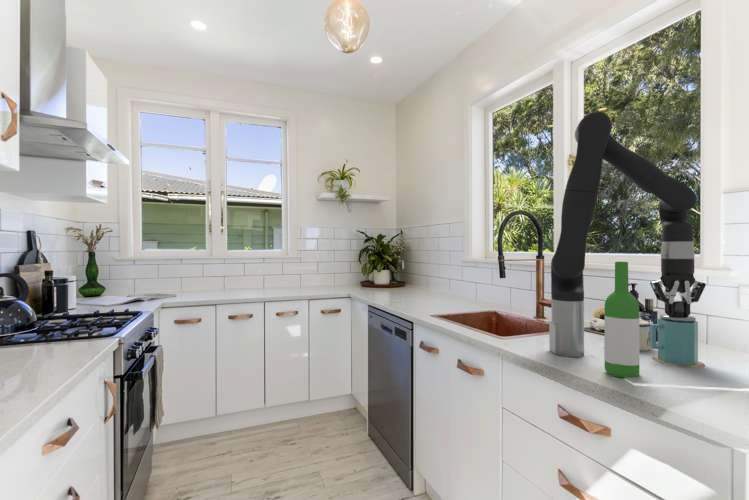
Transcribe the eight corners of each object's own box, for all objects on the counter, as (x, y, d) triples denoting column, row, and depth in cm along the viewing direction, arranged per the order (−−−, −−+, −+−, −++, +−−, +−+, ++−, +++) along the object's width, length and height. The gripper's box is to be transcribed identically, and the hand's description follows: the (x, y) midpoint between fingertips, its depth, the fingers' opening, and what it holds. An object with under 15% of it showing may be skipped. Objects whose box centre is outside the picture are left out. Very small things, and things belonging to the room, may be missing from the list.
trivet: (667, 368, 102) (667, 366, 102) (643, 356, 114) (643, 354, 114) (716, 370, 100) (716, 368, 100) (686, 358, 112) (686, 356, 112)
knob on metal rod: (671, 356, 104) (670, 303, 104) (654, 348, 112) (654, 299, 112) (702, 357, 103) (702, 303, 103) (683, 349, 111) (683, 299, 111)
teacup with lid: (655, 353, 118) (655, 316, 118) (623, 351, 120) (623, 315, 120) (638, 343, 129) (638, 310, 129) (609, 342, 131) (609, 309, 131)
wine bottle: (637, 381, 92) (637, 262, 92) (601, 374, 97) (601, 261, 97) (641, 374, 98) (641, 261, 98) (607, 367, 103) (607, 261, 103)
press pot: (659, 364, 104) (659, 322, 104) (642, 355, 112) (642, 316, 112) (704, 366, 102) (704, 323, 102) (683, 357, 111) (683, 317, 111)
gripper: (658, 257, 105) (658, 318, 105) (714, 257, 102) (714, 319, 102) (643, 257, 112) (643, 313, 112) (695, 257, 110) (695, 314, 110)
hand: (677, 316), depth 107 cm, fingers closed on knob on metal rod, 3 cm apart
